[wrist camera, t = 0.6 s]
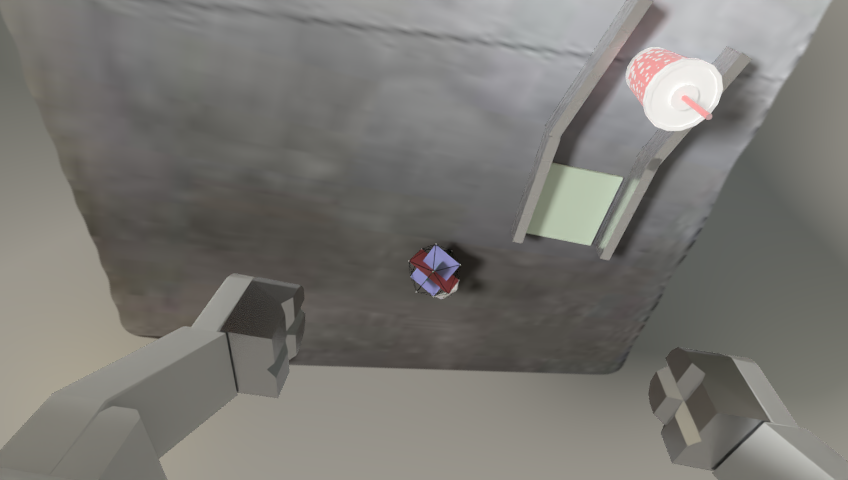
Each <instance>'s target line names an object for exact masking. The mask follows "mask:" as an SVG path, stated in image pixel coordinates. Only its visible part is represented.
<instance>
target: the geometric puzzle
mask: <svg viewBox="0 0 848 480" xmlns="http://www.w3.org/2000/svg"><path fill="white" fill-rule="evenodd" d="M434 245H435V246H434ZM434 245H433V246H434V247H433V246H432V245H431V246H432V247H433V248H432V249H426V250H431V251H430V252H429V253H428V254H427V253H426V252H425V251H426V250H425V251H424V250H423V249H422V248H421V250H420V251H419V252H418V253H417V254H416V255H415V256H413V257H412V258H411V259H410V260H408V261H409V262H411V263H412V264H413V265H414V267H417V269H416V270H415V271H414V273H413V274H412V273H411V276H410V277H411V278H412V279H413V280H415V281H416V282H417V283H418V284H419V285H421V286H422V287H423V288H424V289H425V290H426V291H428V292H429V293H430V294H431V295H432V296H433V297H436V298H439V299H441V300H442V299H445V298H447V297H449V296H451V295H452V294H453V293H455V292H456V291H457V289H458V283H459V281H460V280H458V279H459V278H458V279H457V278H456V276H455V277H454V276H453V275H452V274H453V273H454V272H455V270H456V269H457V268H458V267H460V265H461V264H459V263H458V262H457V261H456V260H454V258H452V257H451V256H450V255H449V254H450V253H451V252H452V250H450V251H451V252H450V253H449V254H447V253H446V252H445V251H447V250H442V249H441V248H440V247H439V246H438V245H437V244H434ZM428 247H429V246H428ZM441 247H442V246H441ZM430 248H431V247H430ZM443 248H444V247H443ZM452 253H453V252H452ZM452 255H453V254H452ZM454 256H455V255H454ZM409 264H410V263H409ZM409 268H411V267H410V265H409ZM413 270H414V269H413ZM458 270H459V269H458ZM456 271H457V270H456ZM411 272H413V271H411ZM457 272H458V271H457ZM456 275H458V274H456ZM459 275H460V273H459ZM412 279H411V280H412ZM414 284H415V283H414ZM414 284H413V285H414ZM421 286H420V288H421ZM415 288H416V287H415ZM420 288H419V289H420ZM440 288H441V289H442V291H443V290H444V291H445V293H442V294H439V295H436V296H435V294H438V293H437V291H438V290H439V289H440ZM419 289H418V290H419ZM415 290H416V289H415ZM418 290H417V291H418ZM417 291H416V293H417ZM440 292H441V291H440ZM440 292H439V293H440ZM418 293H419V292H418ZM423 293H425V292H422V294H423ZM426 295H427V294H426ZM431 295H430V296H431Z"/></svg>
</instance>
